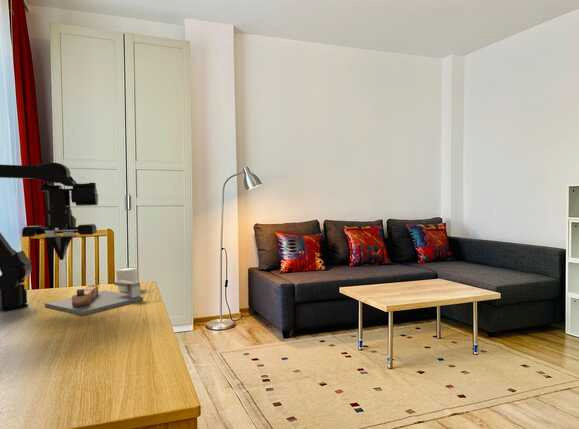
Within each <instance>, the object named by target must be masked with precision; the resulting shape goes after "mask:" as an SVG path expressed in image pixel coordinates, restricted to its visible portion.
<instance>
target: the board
mask: <svg viewBox="0 0 579 429" xmlns="http://www.w3.org/2000/svg"><path fill="white" fill-rule="evenodd" d="M140 301H144V300H143V296H142V295H140V297H136V298H128V293H121V292H115V291H109V290H106V289H105V290H100V291H98V294H97V295H96V296H95V297H94V298H93V299H92V300H91V301H90V304H89V305H86V306H79V307H74V306H72V296H71V297H67V298H64V299H63V298H62V299H59V300H54V301H48V302H44V308H49V309H53V310H58V311H63V312H66V313H70V314H75V315H79V316H86V315H89V314H93V313H98V312H102V311H105V309H106V310H110V309H114V308H117V307H122V306H125V305H129V304H134V303H136V302H140Z"/></svg>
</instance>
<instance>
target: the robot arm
mask: <svg viewBox="0 0 579 429" xmlns="http://www.w3.org/2000/svg"><path fill="white" fill-rule="evenodd" d="M0 178H2V179H27V180H28V179H29V180H30V179H32V180H38V181H43V182H44V184H43V185H42V186H41V187H40V188H39V192H47V205H48V206H47V208H48V209H47V213H46V214H47V215H48V225H47V227H44V226H43V225H29V226H24V227H23V228H22V230H21V238H28V237H29V238H31V237H35V236H41V235H44V240H48V242H49V243H50V245H51V246H52V248H53V250H54V251H55V253H56V255H57V257H58V259H59V261H64V260H65V257H66V253H67V250H68V247H69V245H70V243H71V241H72V239H73V238H76V237H77V234H79V235H82V236H84V235H86V236H87V235H94V234H97V233H98V232H97V231H98V230H97V225H96V224H95V223H83V224H78V225H77V218H75V216H74V215H73V212H72V209H71V203H73V204H75V205H76V206H77V207H84V206H85V207H87V206H88V207H89V206H93V207H94V206H98V202H99V194H98V189H97V184H96V182H88V183H87V182H85V183H78V182H76V180H75V179H74V178H73V177H72V176H71V171H70V169H69V167H68V166H66V165H65V164H63V163H59V162H50V163H42V164H35V165H23V164H22V165H20V164H19V165H18V164H17V165H16V164H0ZM49 183H54V185H51V184H49ZM56 184H58V185H56ZM60 184H62V185H63V186H65V187H71V188H63V187H62V185H60ZM70 191H71V192H70ZM59 234H62V235H59ZM31 263H32V260H31V259H29V257H28V256H27V255H26V252H25V251H24V250H21V251H16V250H15V249H14V248H12V246H11V245H10V244H9V242H8V241H7V240H6V238H5V237H4V235H3V234H2V233H1V232H0V273H1V274H0V311H3V312H7V311H12V310H16V309H17V310H18V309H22V308H25V307H29V304H28V294H27V293H28V292H27V289H25V288H26V286H25V284H24V283H25V281H26V278H28V276H30V274H31V273H32V269H33V266H32V264H31Z"/></svg>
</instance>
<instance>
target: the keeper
mask: <svg viewBox="0 0 579 429" xmlns="http://www.w3.org/2000/svg"><path fill="white" fill-rule="evenodd" d="M113 286H117V287H118V286H123V287H127V291H126V292H127V294H128V298H136V297H140V296H141V282H138V281H137V282H132V281H125V280H120V281H117V280H116V281H113Z"/></svg>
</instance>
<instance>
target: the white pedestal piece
mask: <svg viewBox="0 0 579 429" xmlns="http://www.w3.org/2000/svg"><path fill="white" fill-rule="evenodd" d="M115 275H116V281H120V280H125V281H132V282H138V267H122V268H117V269H115ZM117 289H118V291H119V292H127V287H123V286H117Z"/></svg>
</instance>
